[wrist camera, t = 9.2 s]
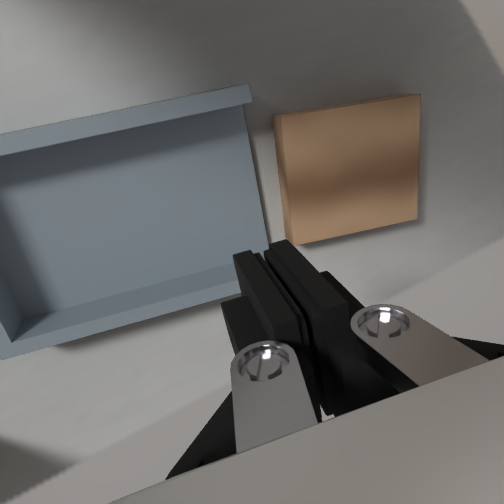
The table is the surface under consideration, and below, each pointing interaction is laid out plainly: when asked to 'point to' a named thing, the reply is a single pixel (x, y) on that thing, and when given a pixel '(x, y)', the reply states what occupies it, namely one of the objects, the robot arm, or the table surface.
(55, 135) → the blue-grey open-ended tray
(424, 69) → the table surface
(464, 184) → the table surface
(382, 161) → the tan square slab
